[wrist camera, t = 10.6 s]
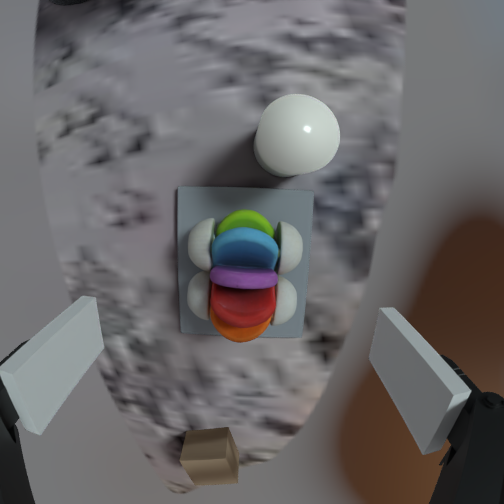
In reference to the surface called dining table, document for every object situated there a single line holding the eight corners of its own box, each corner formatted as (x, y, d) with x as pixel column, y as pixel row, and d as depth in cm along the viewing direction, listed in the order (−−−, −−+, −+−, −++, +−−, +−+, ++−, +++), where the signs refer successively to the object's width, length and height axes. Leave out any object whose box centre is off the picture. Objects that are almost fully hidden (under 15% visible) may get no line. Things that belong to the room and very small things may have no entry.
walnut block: (186, 430, 31) (179, 460, 26) (228, 426, 31) (225, 458, 26) (200, 455, 32) (195, 485, 27) (239, 452, 32) (237, 483, 27)
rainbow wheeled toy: (192, 314, 27) (174, 357, 20) (196, 203, 25) (174, 212, 18) (288, 321, 27) (299, 366, 20) (300, 211, 25) (319, 222, 18)
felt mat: (179, 186, 25) (177, 186, 24) (312, 190, 25) (313, 191, 25) (182, 329, 28) (180, 332, 27) (300, 334, 28) (301, 337, 27)
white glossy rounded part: (248, 122, 24) (252, 98, 17) (308, 115, 24) (331, 91, 17) (258, 181, 25) (265, 178, 18) (318, 172, 25) (345, 168, 18)
